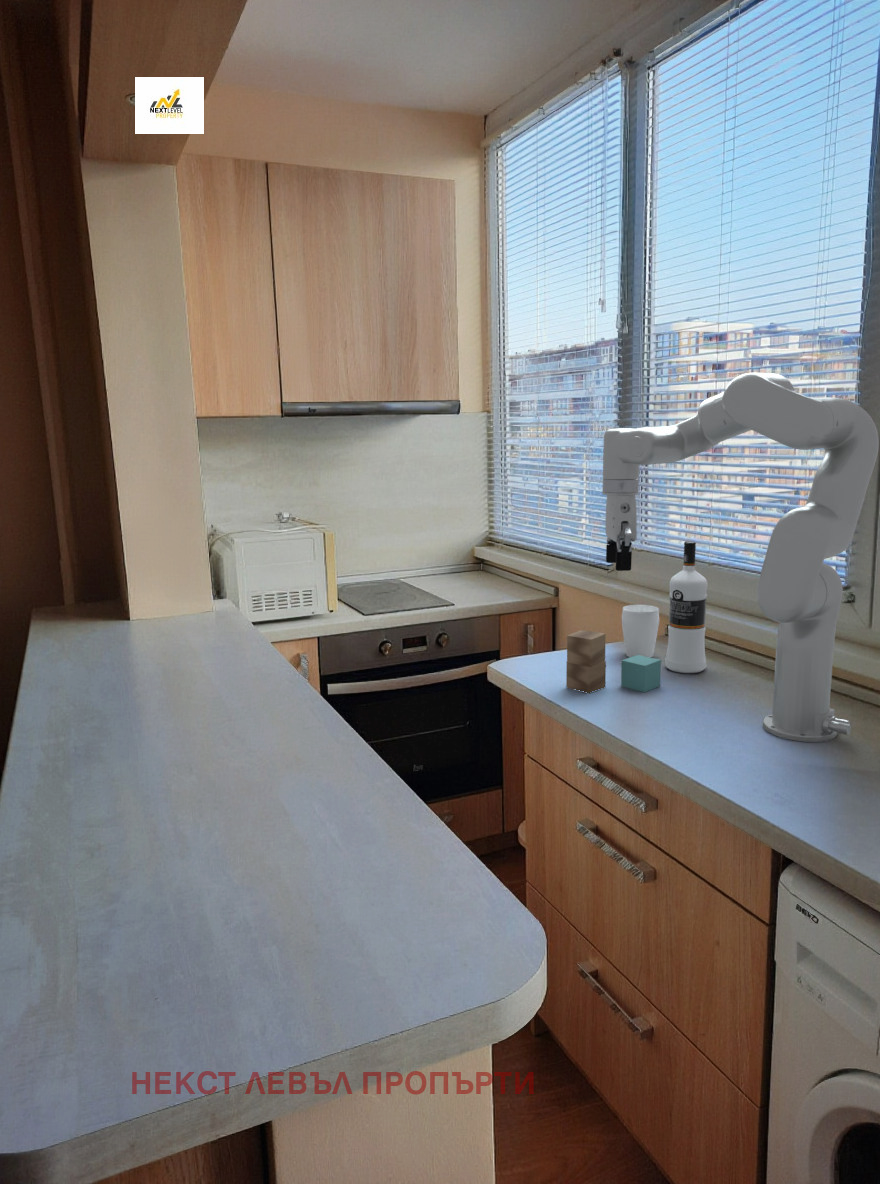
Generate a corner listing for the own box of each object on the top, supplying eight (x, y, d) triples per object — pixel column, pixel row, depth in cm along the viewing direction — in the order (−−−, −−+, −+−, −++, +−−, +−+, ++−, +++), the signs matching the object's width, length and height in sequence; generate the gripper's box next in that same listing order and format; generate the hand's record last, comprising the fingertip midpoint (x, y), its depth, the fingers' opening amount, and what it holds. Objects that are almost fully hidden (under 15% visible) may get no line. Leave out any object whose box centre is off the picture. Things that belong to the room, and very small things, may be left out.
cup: (662, 660, 197) (663, 612, 195) (624, 660, 197) (625, 612, 195) (653, 650, 206) (654, 604, 204) (617, 650, 206) (618, 604, 204)
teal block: (660, 686, 178) (660, 659, 177) (644, 692, 174) (645, 665, 173) (637, 680, 183) (637, 654, 181) (621, 686, 179) (621, 660, 178)
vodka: (714, 670, 188) (720, 541, 182) (685, 676, 184) (689, 545, 178) (685, 660, 196) (690, 537, 190) (656, 666, 192) (660, 540, 186)
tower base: (605, 687, 178) (605, 661, 177) (588, 693, 174) (588, 666, 173) (583, 681, 183) (583, 655, 181) (566, 687, 179) (566, 661, 178)
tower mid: (605, 660, 178) (605, 633, 176) (591, 666, 173) (591, 639, 172) (581, 656, 181) (581, 629, 180) (567, 662, 177) (567, 635, 176)
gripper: (648, 490, 165) (645, 573, 168) (628, 483, 182) (626, 559, 185) (611, 491, 165) (609, 574, 168) (595, 484, 182) (593, 560, 185)
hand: (618, 566), depth 177 cm, fingers open, 9 cm apart
